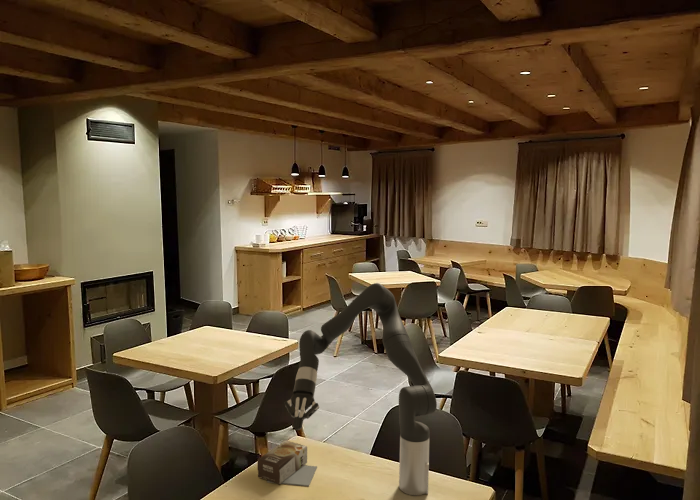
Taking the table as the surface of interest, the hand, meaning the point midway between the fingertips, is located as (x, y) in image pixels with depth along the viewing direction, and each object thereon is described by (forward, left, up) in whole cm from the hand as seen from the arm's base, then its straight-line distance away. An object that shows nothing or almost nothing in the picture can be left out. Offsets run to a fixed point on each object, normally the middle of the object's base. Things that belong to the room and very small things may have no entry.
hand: (297, 429), depth 179 cm
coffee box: (+1, -3, -9) cm, 10 cm away
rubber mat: (0, +6, -13) cm, 14 cm away
